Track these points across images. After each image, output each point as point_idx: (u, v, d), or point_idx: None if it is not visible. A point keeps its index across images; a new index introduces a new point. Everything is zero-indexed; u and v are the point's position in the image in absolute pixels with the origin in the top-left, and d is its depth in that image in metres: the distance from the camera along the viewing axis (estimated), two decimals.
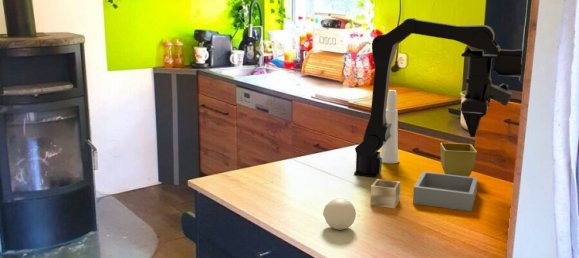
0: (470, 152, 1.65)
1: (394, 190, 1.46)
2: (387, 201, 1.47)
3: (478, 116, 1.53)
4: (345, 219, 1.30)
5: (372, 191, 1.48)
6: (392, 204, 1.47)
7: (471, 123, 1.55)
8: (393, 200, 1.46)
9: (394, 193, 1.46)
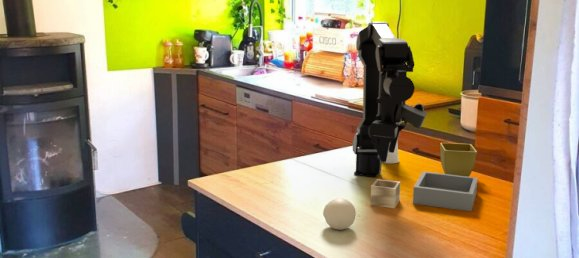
0: (470, 152, 1.65)
1: (394, 190, 1.46)
2: (387, 201, 1.47)
3: (387, 140, 1.40)
4: (345, 219, 1.30)
5: (372, 191, 1.48)
6: (392, 204, 1.47)
7: (381, 147, 1.42)
8: (393, 200, 1.46)
9: (394, 193, 1.46)
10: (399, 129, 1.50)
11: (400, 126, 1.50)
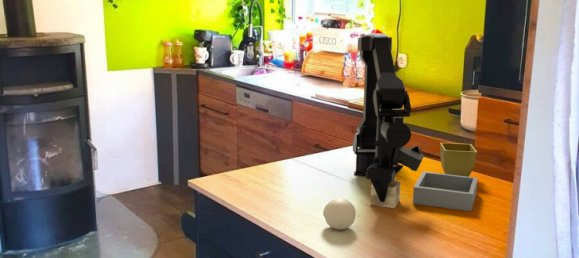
0: (470, 152, 1.65)
1: (394, 189, 1.46)
2: (387, 200, 1.47)
3: (386, 181, 1.44)
4: (345, 219, 1.30)
5: (372, 190, 1.48)
6: (392, 203, 1.47)
7: (379, 188, 1.45)
8: (393, 199, 1.46)
9: (394, 192, 1.46)
10: (395, 171, 1.51)
11: (396, 168, 1.51)
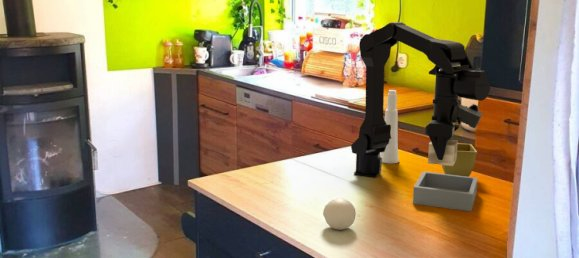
0: (470, 152, 1.65)
1: (453, 147, 1.46)
2: (445, 158, 1.47)
3: (445, 138, 1.44)
4: (345, 219, 1.30)
5: (430, 149, 1.48)
6: (450, 161, 1.47)
7: (438, 145, 1.46)
8: (451, 157, 1.47)
9: (453, 150, 1.46)
10: None
11: (453, 127, 1.52)
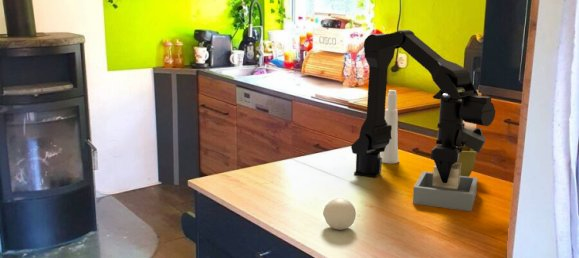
0: (470, 152, 1.65)
1: (457, 171, 1.48)
2: (450, 182, 1.50)
3: (450, 162, 1.46)
4: (345, 219, 1.30)
5: (435, 172, 1.50)
6: (455, 184, 1.49)
7: (443, 169, 1.48)
8: (456, 180, 1.49)
9: (457, 174, 1.48)
10: None
11: None
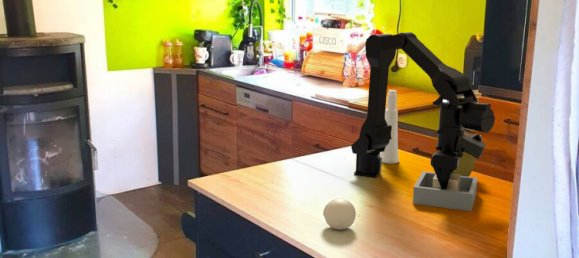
0: None
1: (456, 182, 1.49)
2: None
3: (449, 170, 1.46)
4: (345, 219, 1.30)
5: (434, 183, 1.51)
6: None
7: (442, 176, 1.48)
8: None
9: (456, 185, 1.49)
10: None
11: None
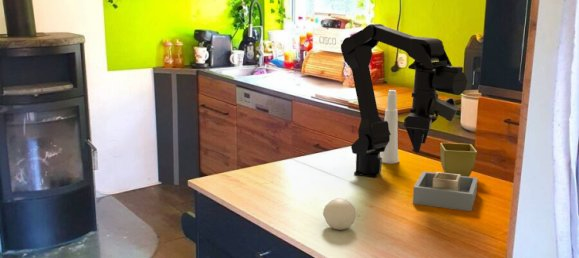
0: (470, 152, 1.65)
1: (456, 182, 1.49)
2: None
3: (422, 132, 1.50)
4: (345, 219, 1.30)
5: (434, 183, 1.51)
6: None
7: (415, 138, 1.52)
8: None
9: (456, 185, 1.49)
10: (431, 121, 1.60)
11: (432, 119, 1.60)
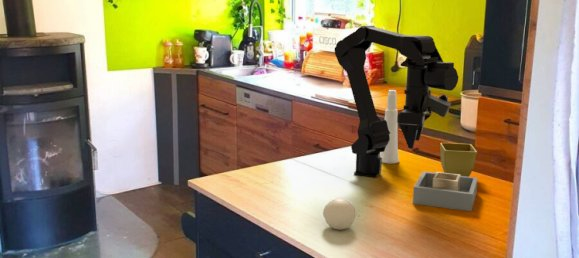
0: (470, 152, 1.65)
1: (456, 182, 1.49)
2: None
3: (415, 128, 1.51)
4: (345, 219, 1.30)
5: (434, 183, 1.51)
6: None
7: (408, 134, 1.53)
8: None
9: (456, 185, 1.49)
10: (424, 118, 1.62)
11: (425, 116, 1.61)
